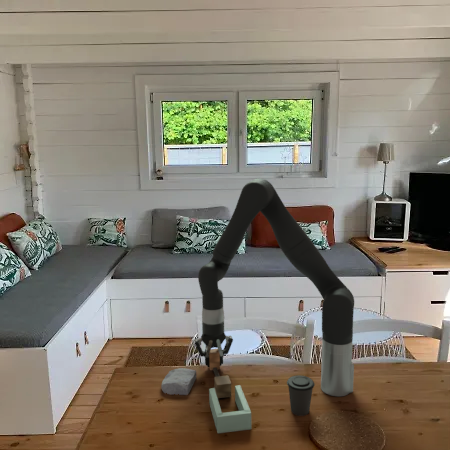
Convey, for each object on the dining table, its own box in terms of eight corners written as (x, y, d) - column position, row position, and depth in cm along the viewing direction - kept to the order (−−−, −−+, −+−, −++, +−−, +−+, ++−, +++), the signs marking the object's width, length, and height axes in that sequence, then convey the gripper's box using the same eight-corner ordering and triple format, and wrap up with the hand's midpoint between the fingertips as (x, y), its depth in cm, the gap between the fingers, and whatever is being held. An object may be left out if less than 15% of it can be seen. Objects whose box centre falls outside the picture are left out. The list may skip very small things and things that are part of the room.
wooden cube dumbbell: (219, 364, 168) (219, 348, 167) (231, 396, 148) (231, 379, 147) (207, 365, 168) (206, 349, 166) (217, 398, 147) (216, 380, 146)
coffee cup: (315, 405, 144) (316, 375, 142) (311, 420, 136) (312, 389, 134) (289, 400, 146) (289, 371, 144) (283, 415, 139) (284, 384, 137)
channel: (240, 400, 147) (240, 385, 146) (251, 429, 133) (251, 412, 132) (209, 403, 145) (209, 388, 144) (217, 433, 131) (217, 417, 130)
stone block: (160, 399, 152) (190, 396, 150) (157, 385, 151) (187, 382, 149) (171, 381, 163) (199, 378, 161) (168, 368, 163) (196, 365, 160)
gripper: (231, 313, 168) (231, 358, 171) (191, 316, 165) (192, 362, 168) (235, 321, 160) (236, 368, 164) (193, 325, 158) (195, 373, 161)
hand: (214, 365), depth 166 cm, fingers closed on wooden cube dumbbell, 3 cm apart
